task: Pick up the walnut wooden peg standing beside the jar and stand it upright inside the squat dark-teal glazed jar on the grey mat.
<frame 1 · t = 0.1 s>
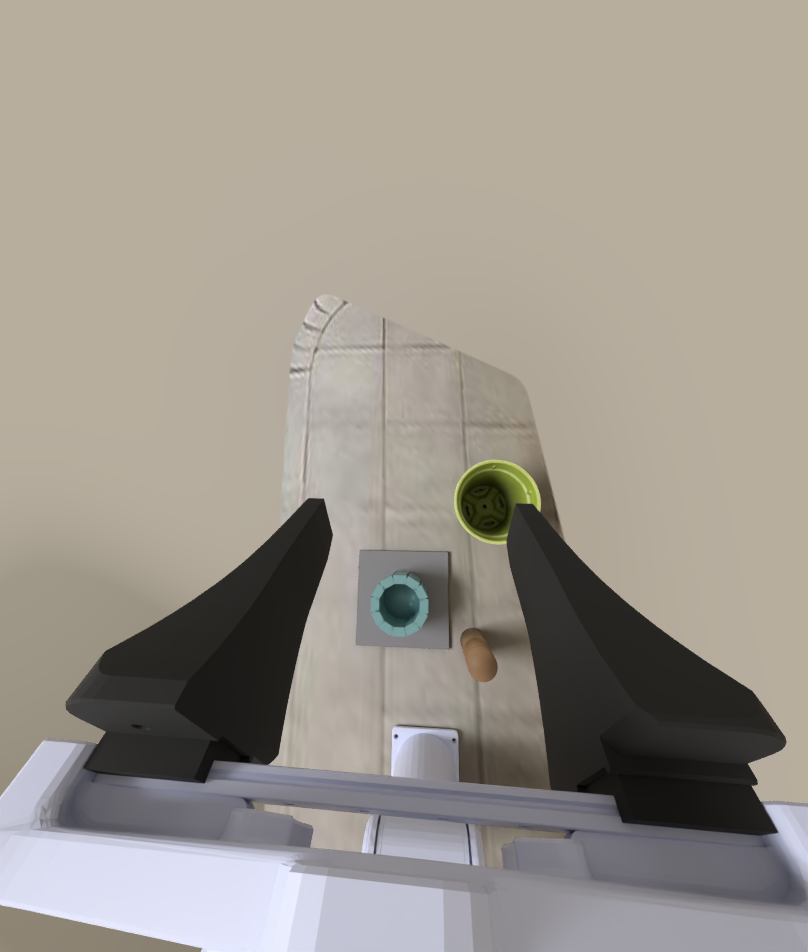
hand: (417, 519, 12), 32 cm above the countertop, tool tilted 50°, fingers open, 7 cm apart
plant pot: (483, 508, 44), on the countertop
walnut peg: (472, 640, 40), on the countertop
grey mat: (402, 597, 42), on the countertop
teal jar: (402, 597, 42), resting on grey mat
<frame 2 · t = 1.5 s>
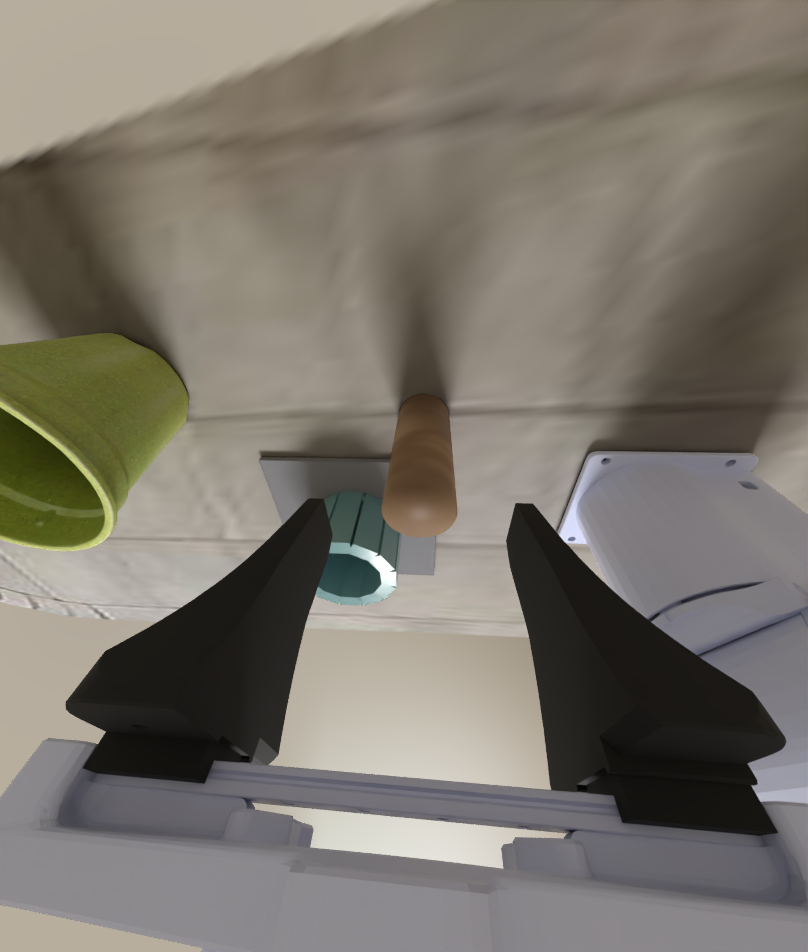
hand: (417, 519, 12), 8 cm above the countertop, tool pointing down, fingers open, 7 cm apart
plant pot: (142, 384, 19), on the countertop
walnut peg: (423, 417, 19), on the countertop
grey mat: (358, 521, 25), on the countertop
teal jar: (357, 525, 24), resting on grey mat
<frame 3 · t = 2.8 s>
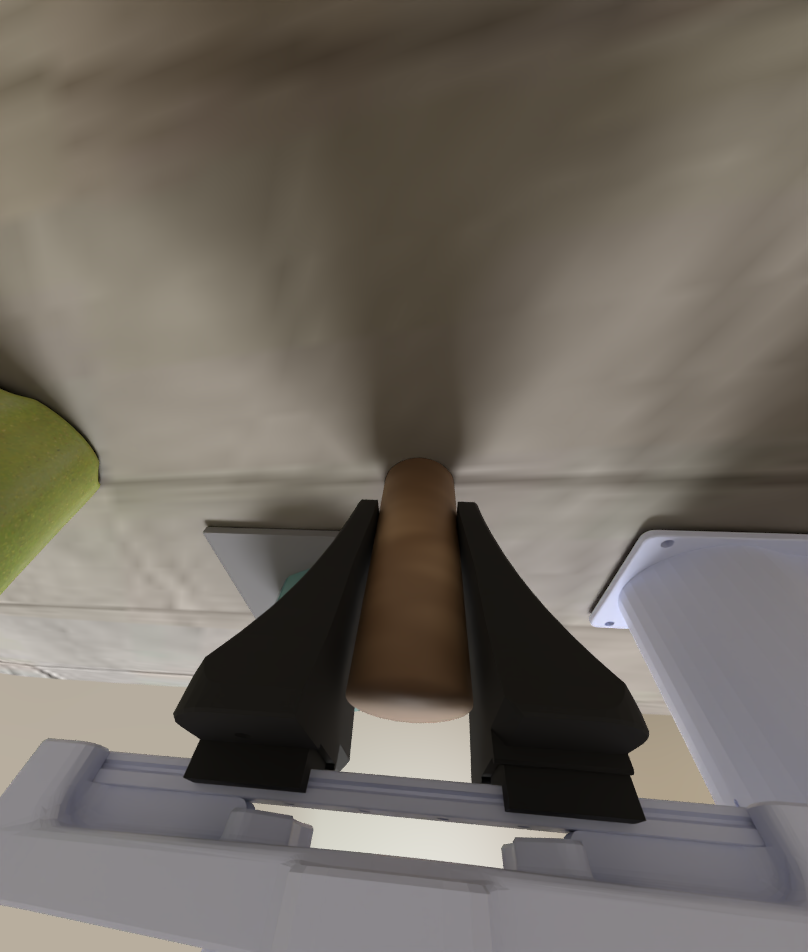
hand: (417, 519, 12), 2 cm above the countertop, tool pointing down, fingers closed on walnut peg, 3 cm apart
plant pot: (34, 440, 14), on the countertop
walnut peg: (419, 486, 14), on the countertop, touching gripper
grey mat: (338, 596, 20), on the countertop
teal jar: (337, 602, 19), resting on grey mat
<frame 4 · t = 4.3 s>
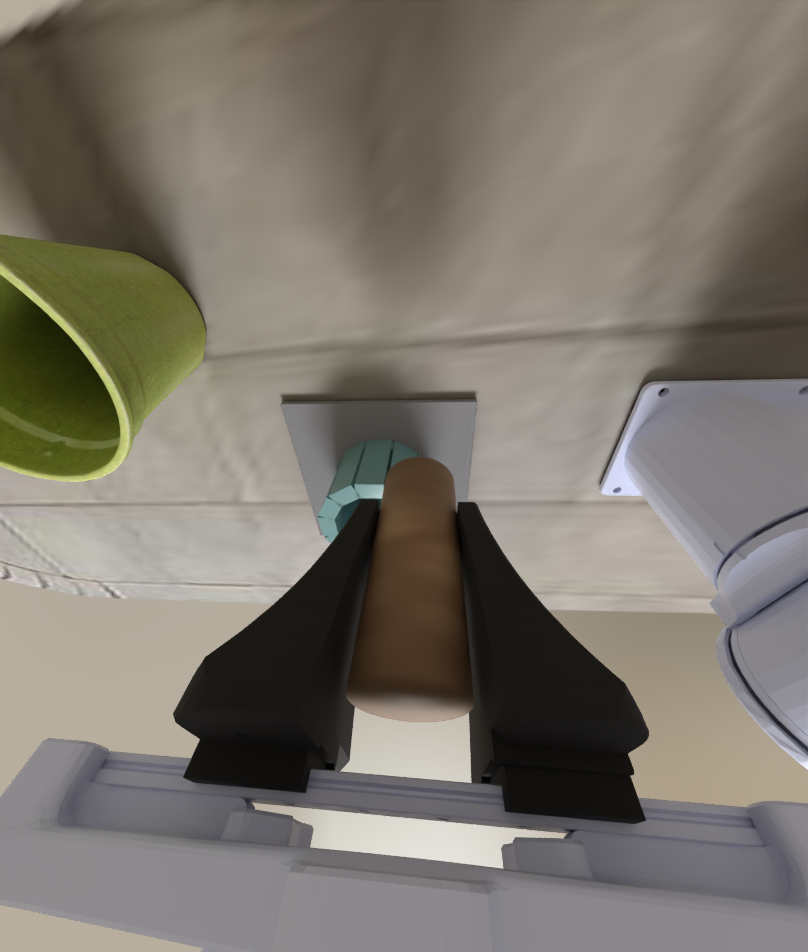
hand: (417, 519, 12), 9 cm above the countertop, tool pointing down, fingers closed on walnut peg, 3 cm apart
plant pot: (155, 317, 18), on the countertop
walnut peg: (419, 485, 14), point 7 cm above the countertop, touching gripper
grey mat: (385, 477, 23), on the countertop
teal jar: (384, 480, 23), resting on grey mat
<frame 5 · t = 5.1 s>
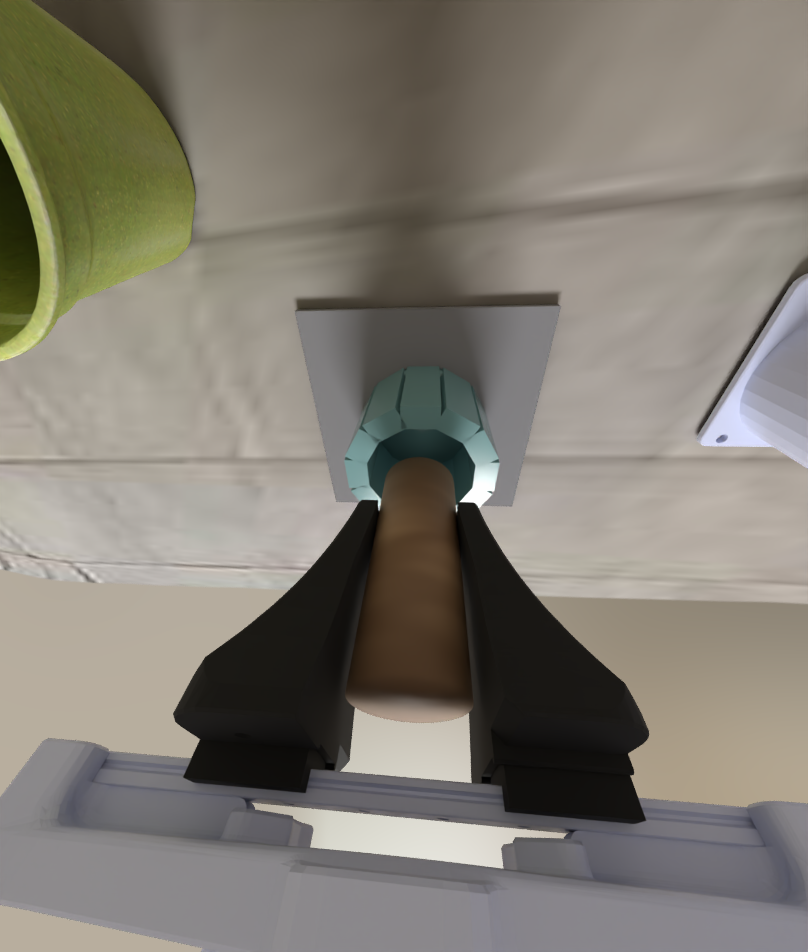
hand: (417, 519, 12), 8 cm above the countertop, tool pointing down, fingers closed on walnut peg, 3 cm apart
plant pot: (124, 172, 13), on the countertop
walnut peg: (419, 485, 14), point 6 cm above the countertop, touching gripper
grey mat: (423, 423, 18), on the countertop
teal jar: (422, 426, 18), resting on grey mat
when the fingers open (6 cm above the countertop, at t = 5.8 s): walnut peg drops 3 cm, resting on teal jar.
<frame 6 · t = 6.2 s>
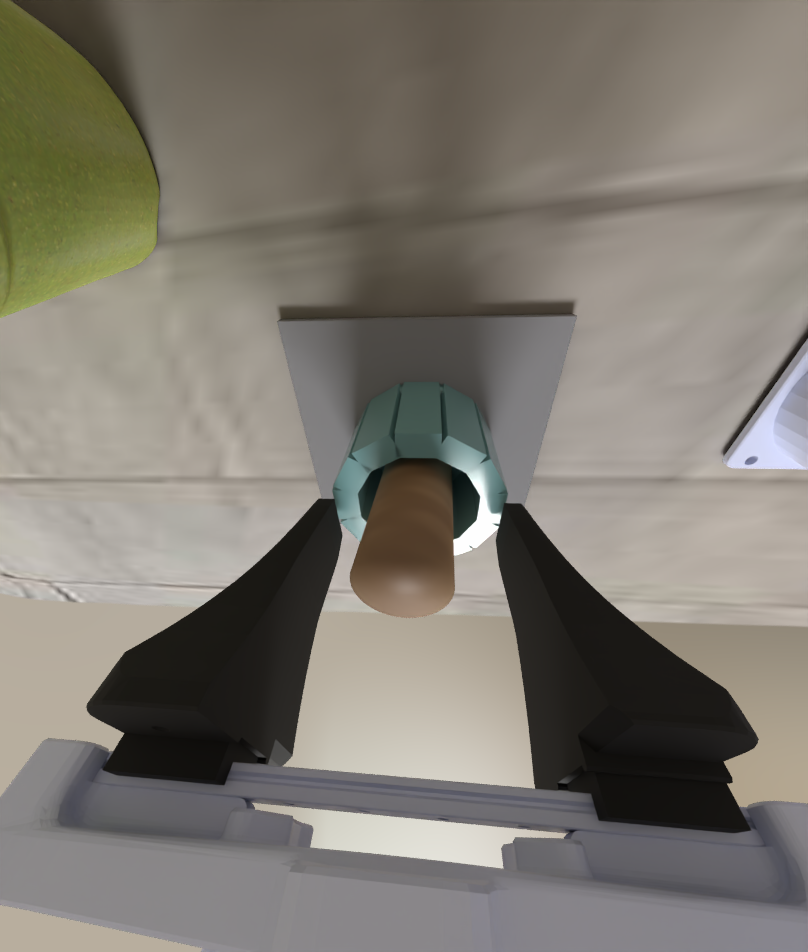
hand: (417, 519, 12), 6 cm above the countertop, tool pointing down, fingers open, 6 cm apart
plant pot: (78, 163, 11), on the countertop
walnut peg: (421, 453, 16), point 1 cm above the countertop, tilted 6°, touching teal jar
grey mat: (421, 441, 17), on the countertop
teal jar: (421, 445, 16), resting on grey mat
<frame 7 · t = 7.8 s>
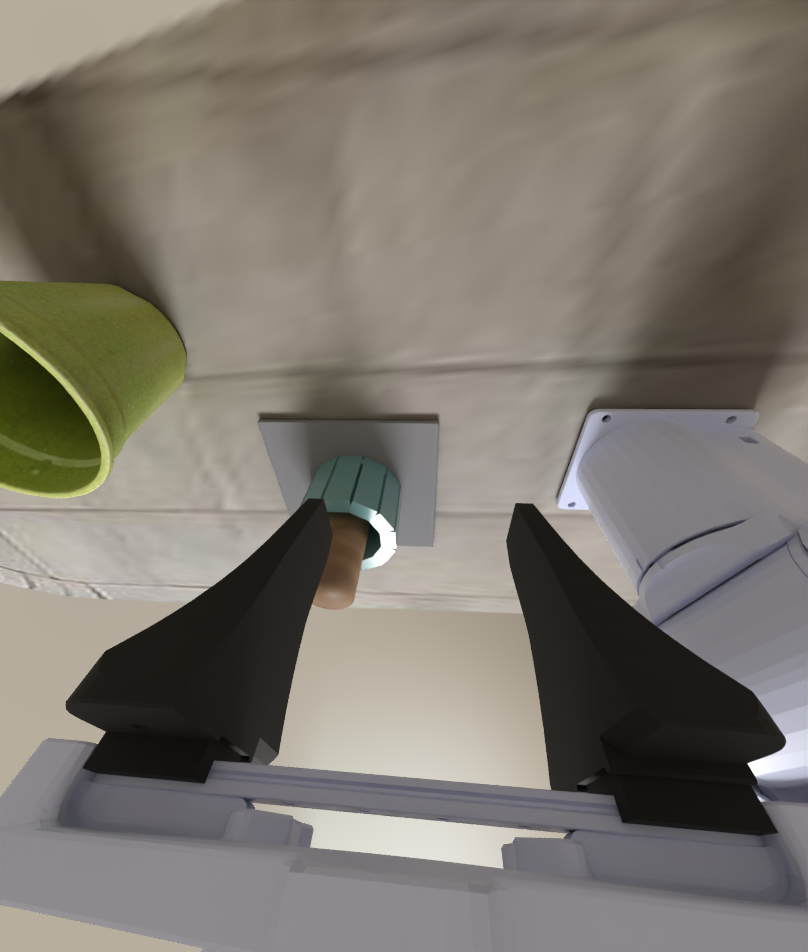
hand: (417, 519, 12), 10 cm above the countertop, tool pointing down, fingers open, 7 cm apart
plant pot: (139, 341, 19), on the countertop
walnut peg: (355, 497, 24), point 1 cm above the countertop, touching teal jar
grey mat: (358, 489, 25), on the countertop
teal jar: (357, 492, 24), resting on grey mat
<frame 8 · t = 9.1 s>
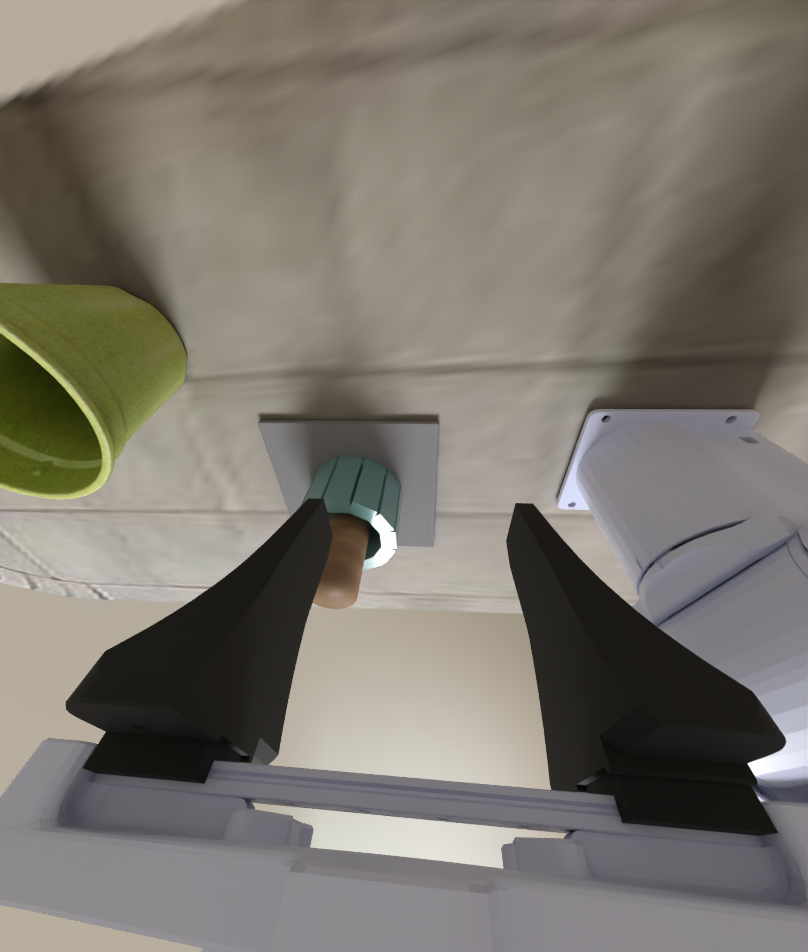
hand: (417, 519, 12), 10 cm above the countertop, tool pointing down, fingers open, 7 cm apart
plant pot: (139, 342, 19), on the countertop
walnut peg: (355, 498, 24), point 1 cm above the countertop, touching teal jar
grey mat: (358, 489, 25), on the countertop
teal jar: (357, 493, 24), resting on grey mat
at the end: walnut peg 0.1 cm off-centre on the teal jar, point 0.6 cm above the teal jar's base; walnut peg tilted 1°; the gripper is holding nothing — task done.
